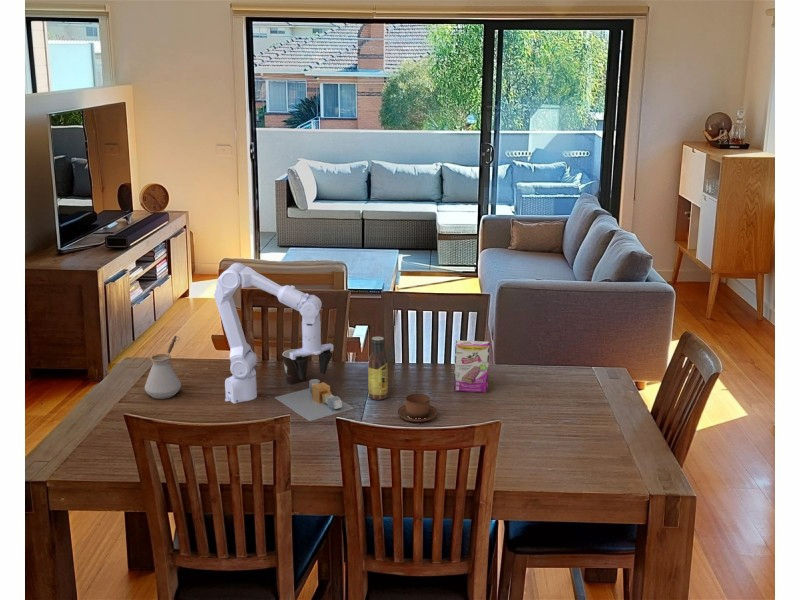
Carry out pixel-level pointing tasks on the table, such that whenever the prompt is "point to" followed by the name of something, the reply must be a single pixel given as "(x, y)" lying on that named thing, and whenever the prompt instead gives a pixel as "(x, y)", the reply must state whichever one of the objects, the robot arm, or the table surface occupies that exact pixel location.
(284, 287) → the robot arm
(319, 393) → the brown square block
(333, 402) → the shaft rig
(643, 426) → the table surface
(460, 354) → the candy bar box
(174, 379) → the coffee pot
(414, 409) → the cup and saucer
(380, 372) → the sauce bottle
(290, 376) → the coffee mug
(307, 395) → the base board
